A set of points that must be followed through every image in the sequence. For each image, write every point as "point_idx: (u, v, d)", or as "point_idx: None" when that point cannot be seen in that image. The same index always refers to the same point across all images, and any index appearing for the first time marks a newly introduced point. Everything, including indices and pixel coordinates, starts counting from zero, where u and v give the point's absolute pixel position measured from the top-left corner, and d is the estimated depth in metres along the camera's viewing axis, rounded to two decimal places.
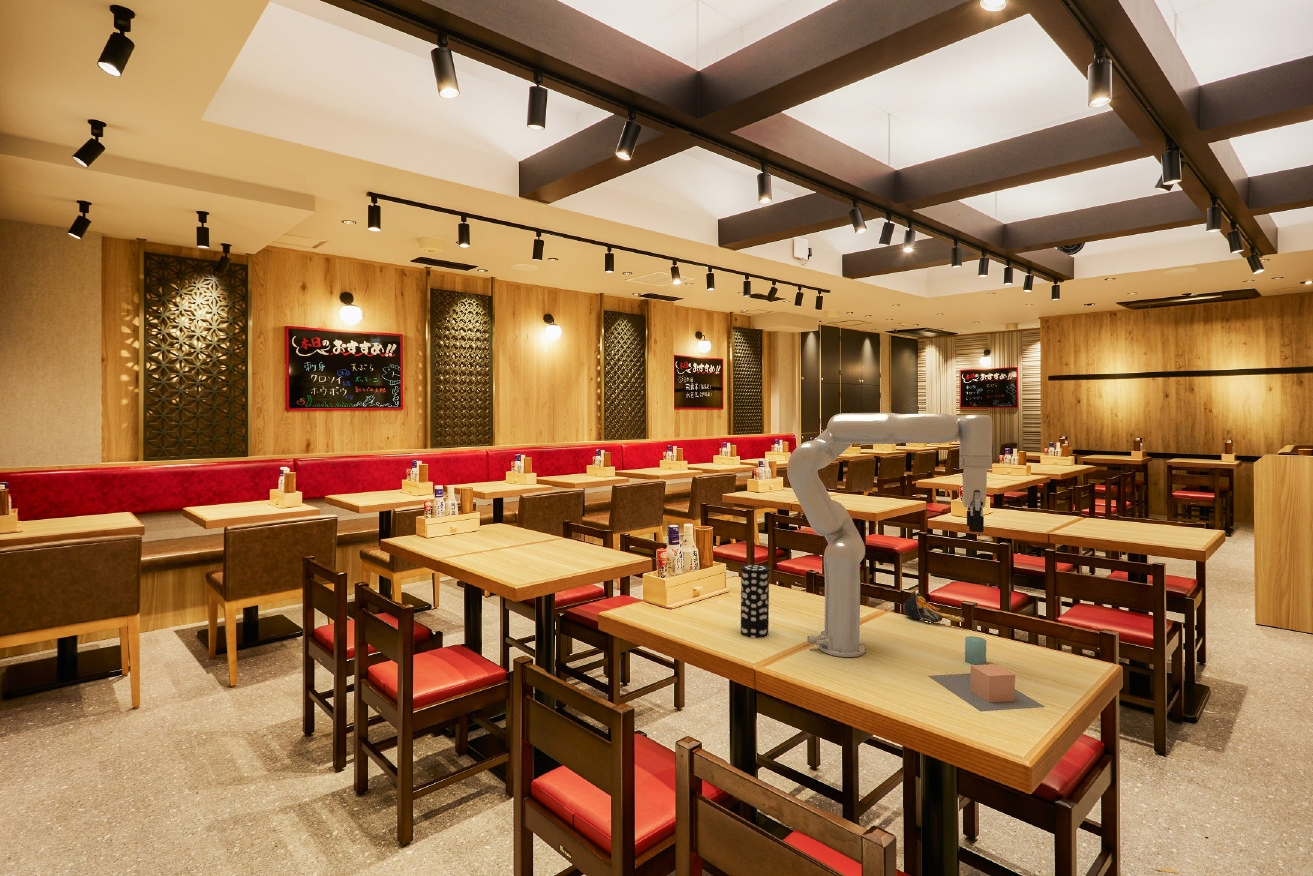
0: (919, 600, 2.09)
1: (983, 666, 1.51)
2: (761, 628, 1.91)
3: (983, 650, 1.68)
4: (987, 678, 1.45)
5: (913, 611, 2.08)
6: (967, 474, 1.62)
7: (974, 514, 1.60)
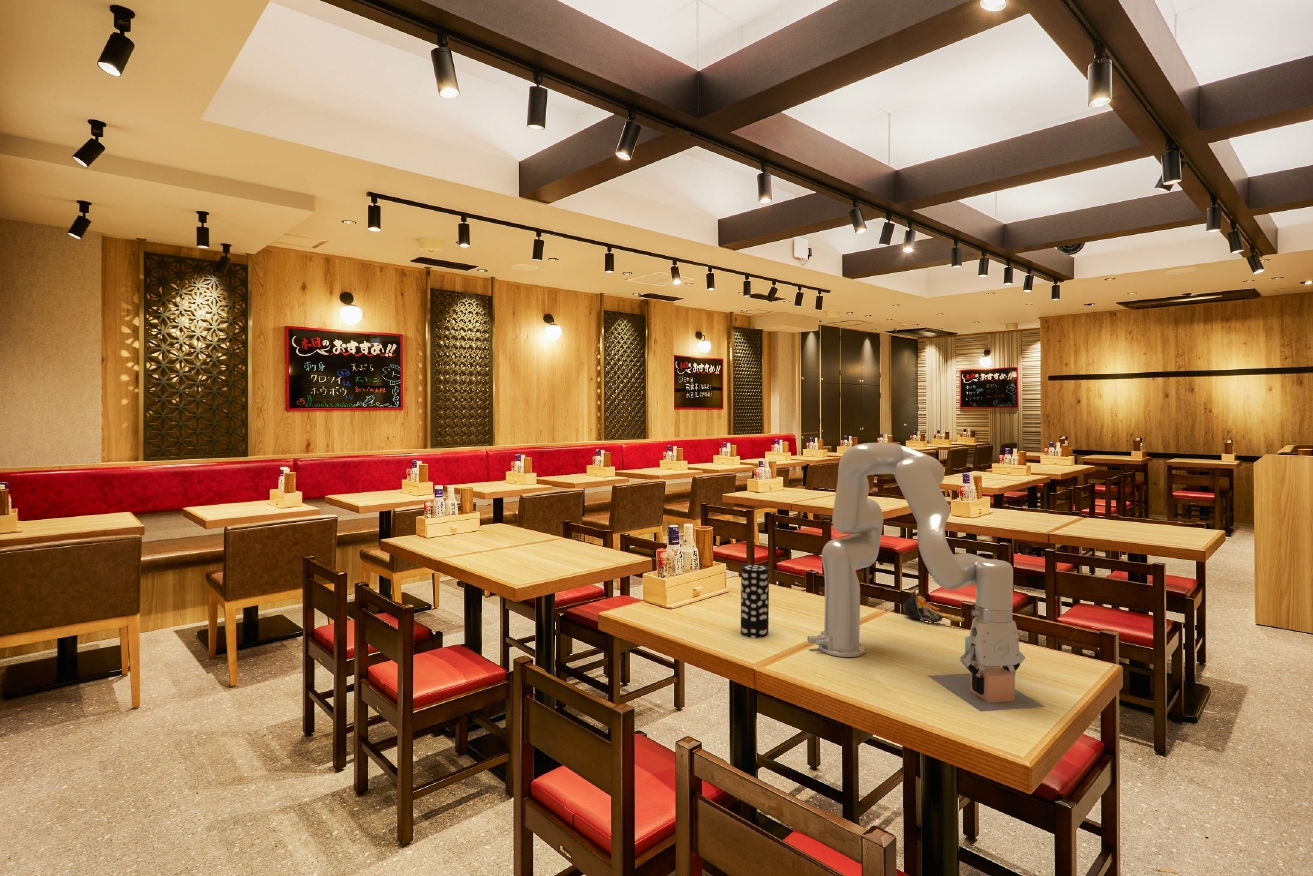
0: (919, 600, 2.09)
1: None
2: (761, 628, 1.91)
3: None
4: (987, 678, 1.45)
5: (913, 611, 2.08)
6: (1016, 628, 1.47)
7: None
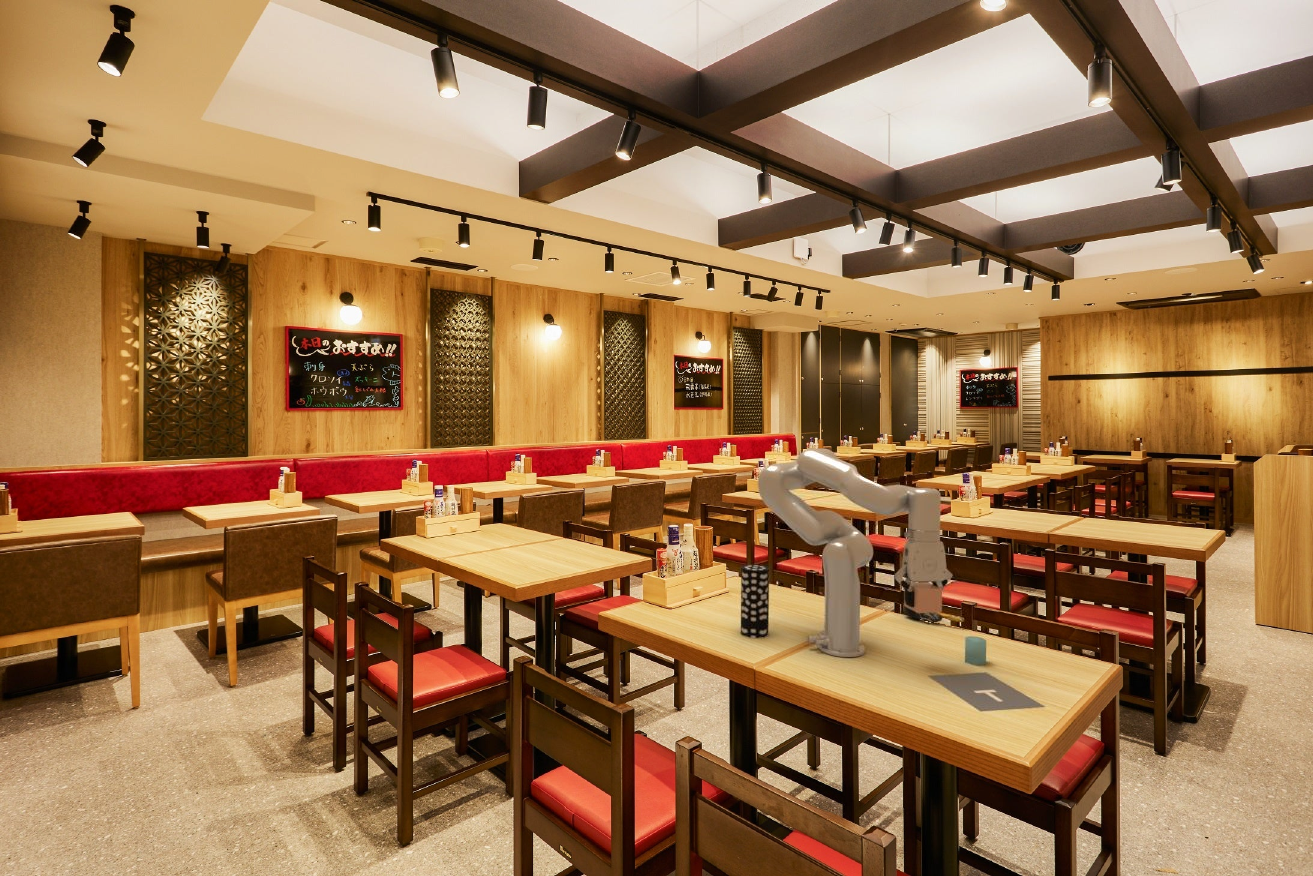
0: None
1: None
2: (761, 628, 1.91)
3: (983, 650, 1.68)
4: (917, 591, 1.63)
5: (913, 611, 2.08)
6: None
7: None
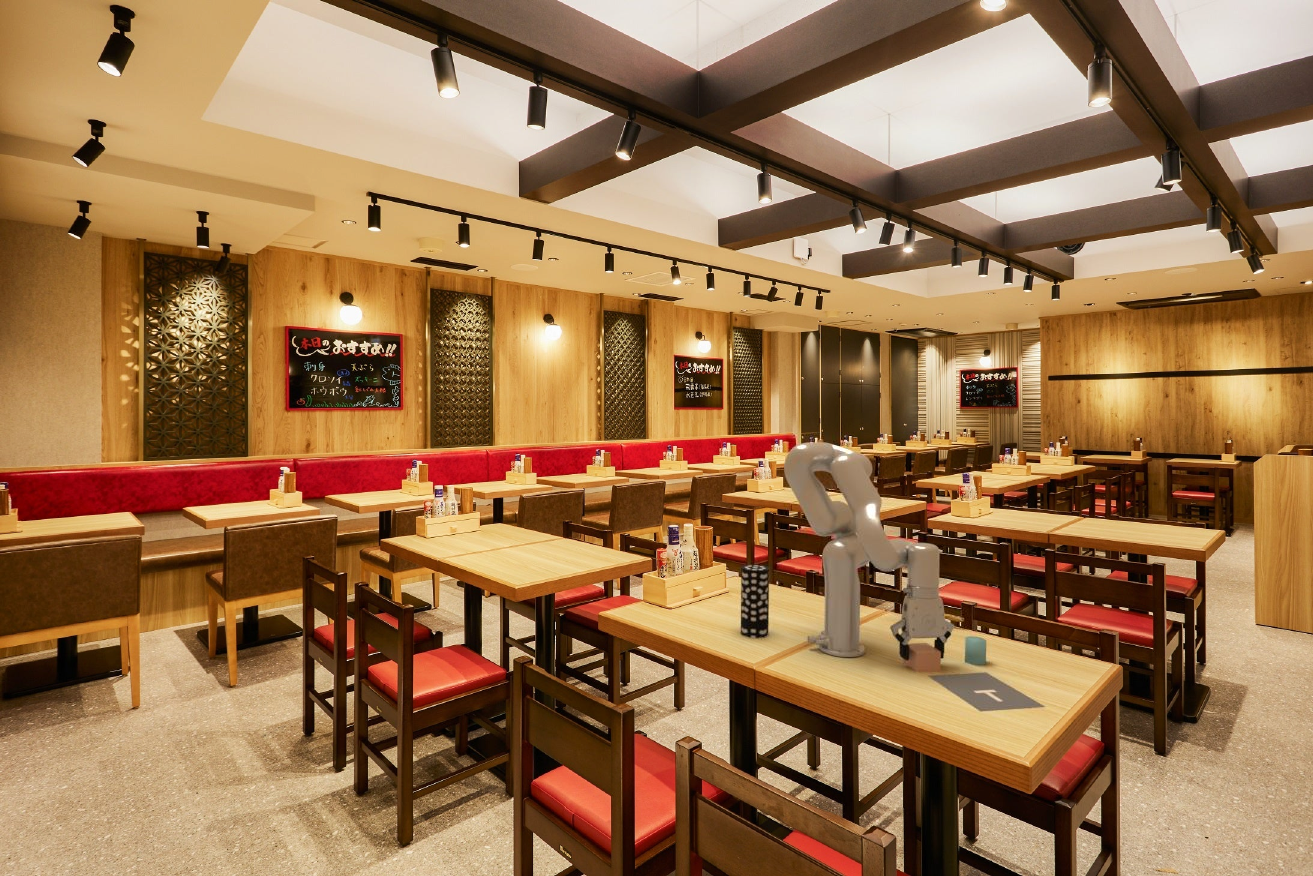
0: None
1: (914, 644, 1.69)
2: (761, 628, 1.91)
3: (983, 650, 1.68)
4: (916, 654, 1.63)
5: None
6: None
7: None
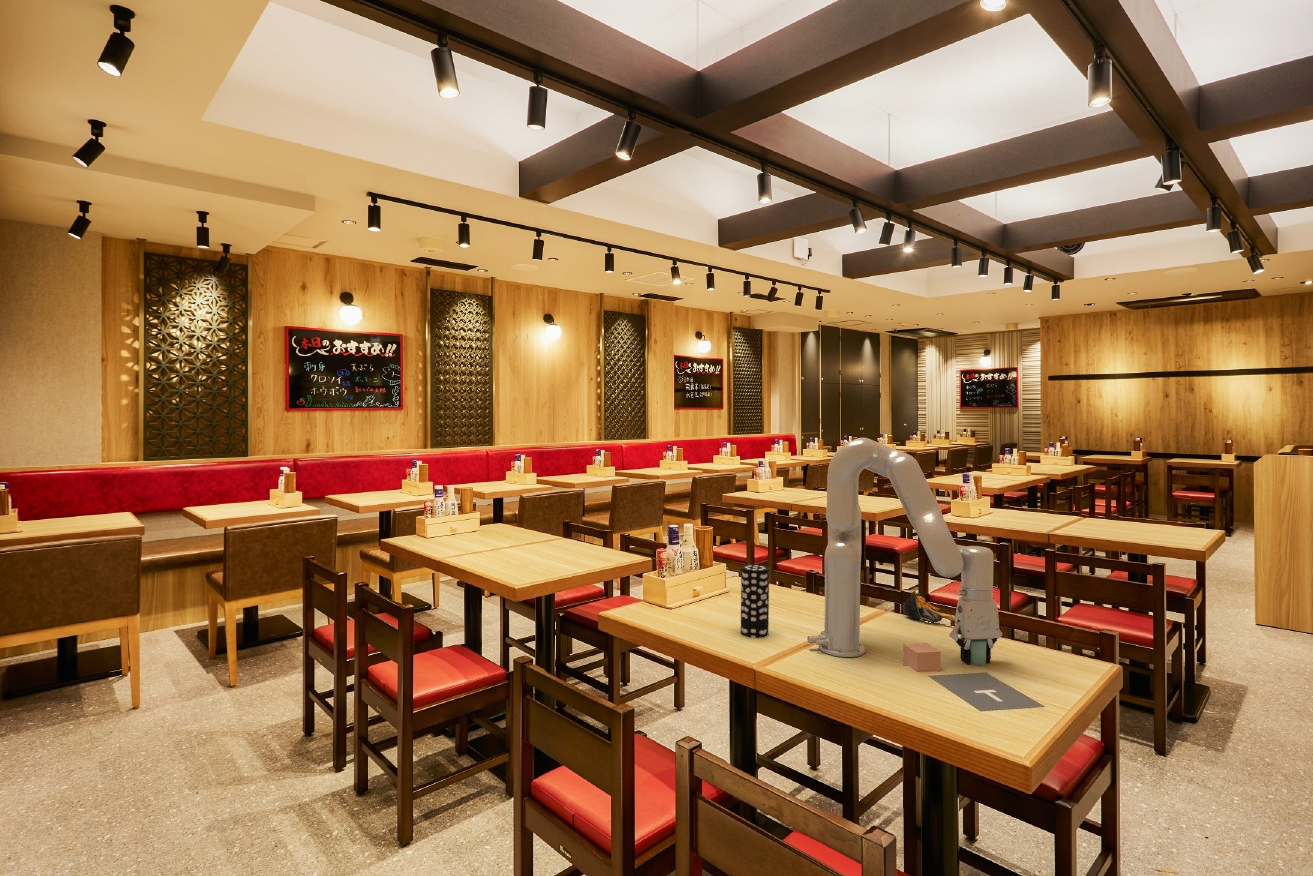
0: (919, 600, 2.09)
1: (914, 644, 1.69)
2: (761, 628, 1.91)
3: (984, 650, 1.68)
4: (916, 654, 1.63)
5: (913, 611, 2.08)
6: (996, 606, 1.68)
7: None
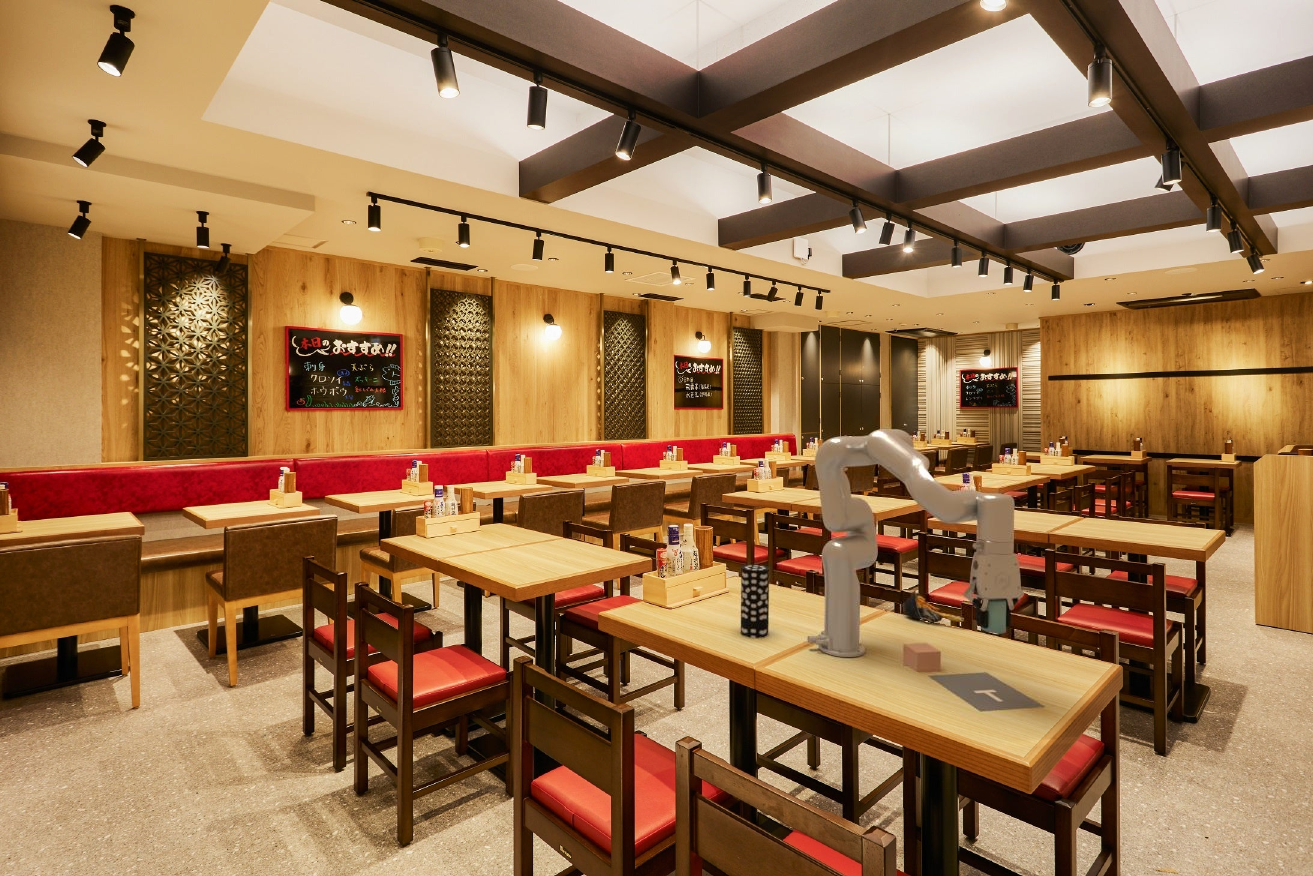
0: (919, 600, 2.09)
1: (914, 644, 1.69)
2: (761, 628, 1.91)
3: (1003, 611, 1.46)
4: (916, 654, 1.63)
5: (913, 611, 2.08)
6: None
7: None
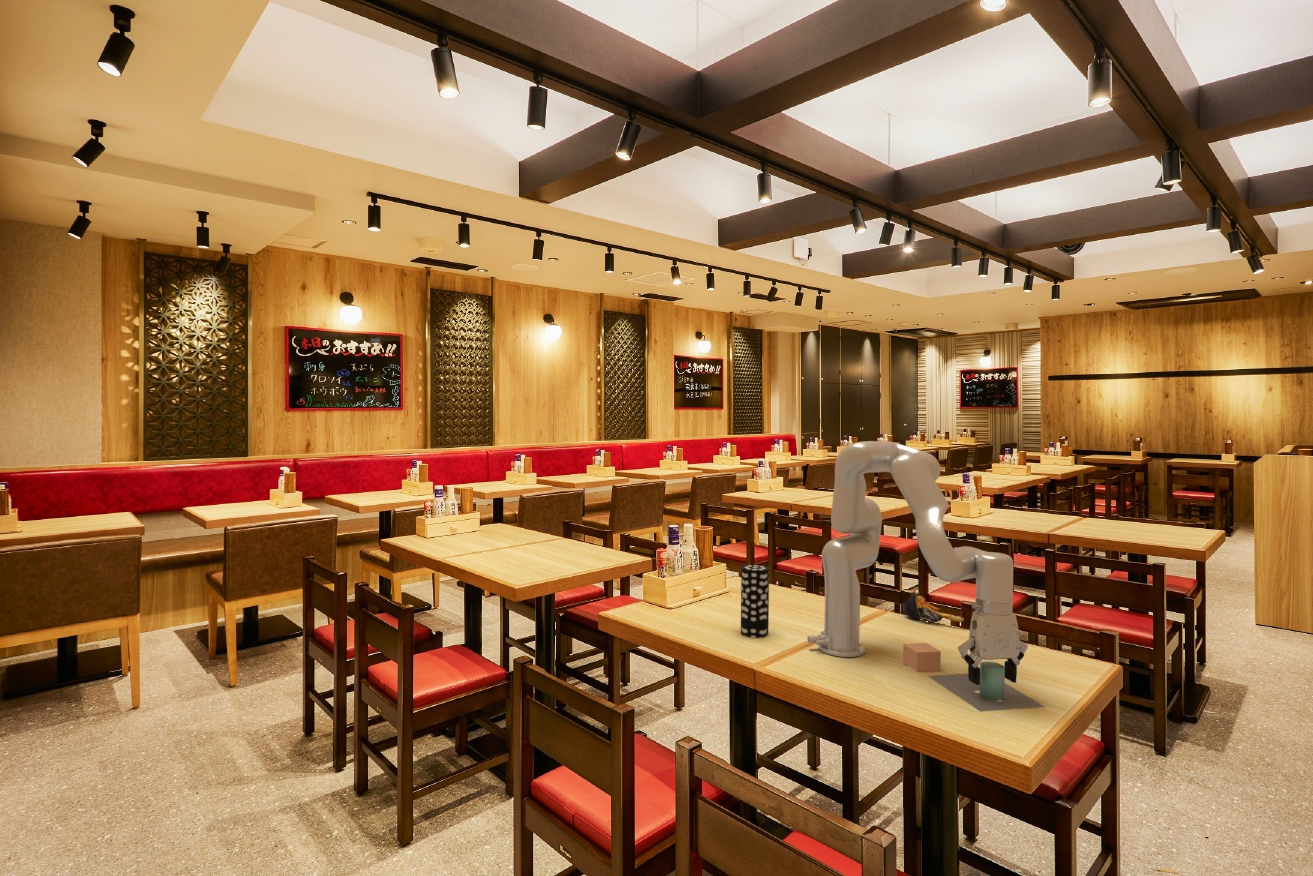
0: (919, 600, 2.09)
1: (914, 644, 1.69)
2: (761, 628, 1.91)
3: (1002, 678, 1.46)
4: (915, 654, 1.63)
5: (913, 611, 2.08)
6: (1016, 621, 1.47)
7: None
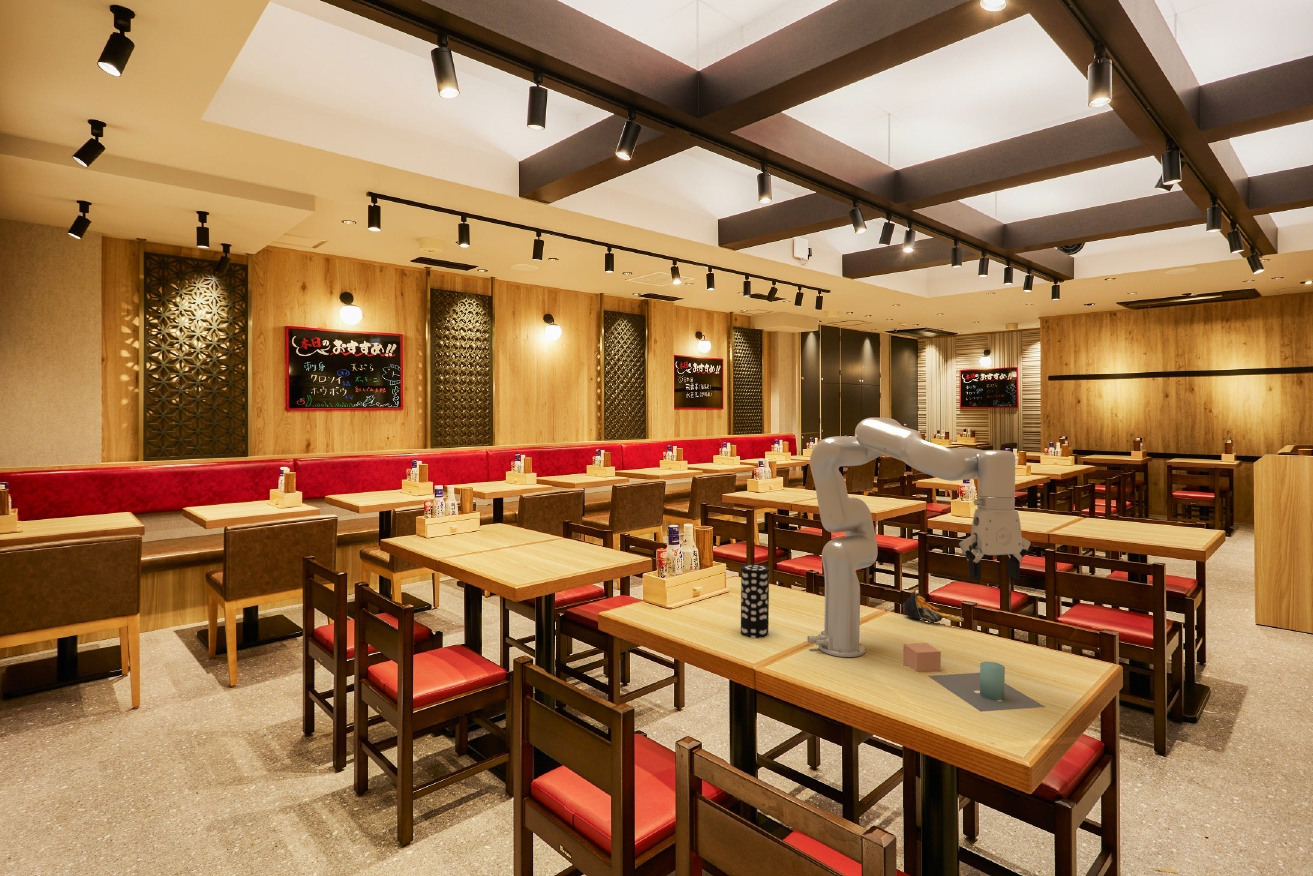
0: (919, 600, 2.09)
1: (914, 644, 1.69)
2: (761, 628, 1.91)
3: (1002, 678, 1.46)
4: (915, 654, 1.63)
5: (913, 611, 2.08)
6: None
7: None
